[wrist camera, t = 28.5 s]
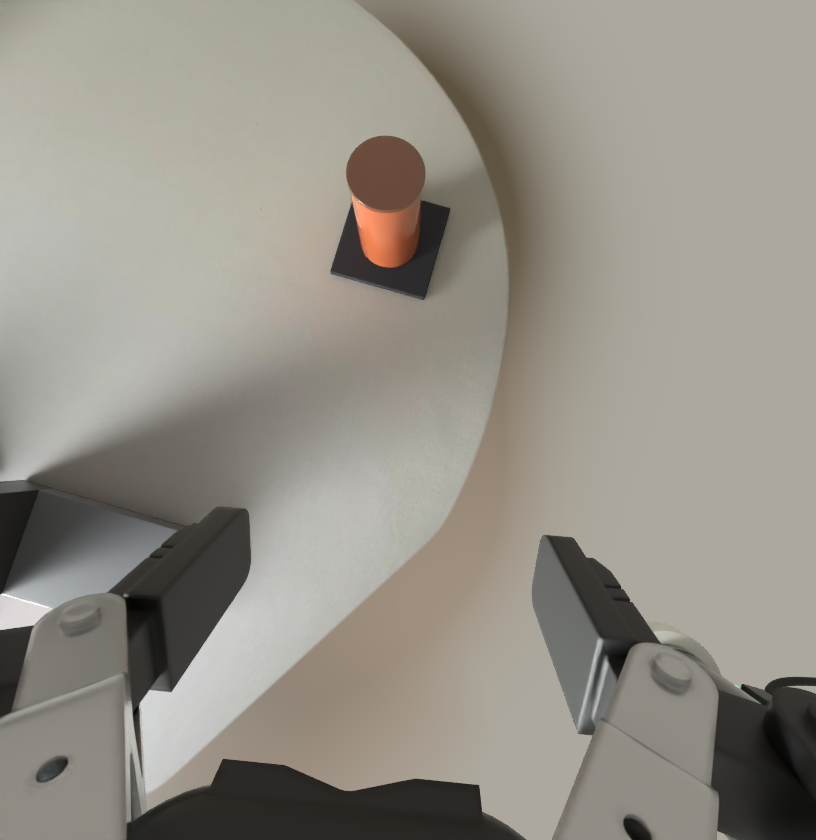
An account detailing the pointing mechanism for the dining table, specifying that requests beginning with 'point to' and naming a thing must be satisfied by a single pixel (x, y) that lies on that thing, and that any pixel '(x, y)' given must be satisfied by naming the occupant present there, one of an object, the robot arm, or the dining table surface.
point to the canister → (387, 198)
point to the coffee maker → (69, 543)
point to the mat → (402, 278)
